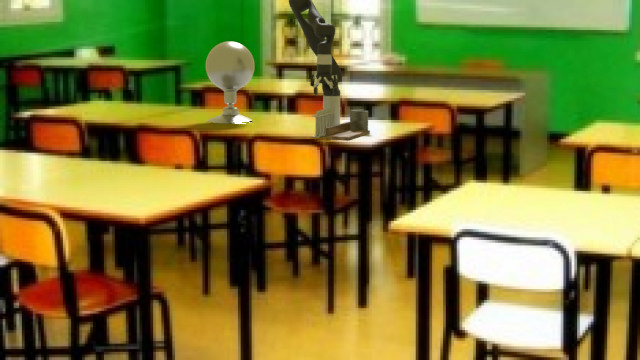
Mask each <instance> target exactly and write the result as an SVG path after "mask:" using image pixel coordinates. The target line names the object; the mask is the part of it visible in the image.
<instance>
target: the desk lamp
mask: <svg viewBox="0 0 640 360" xmlns="http://www.w3.org/2000/svg"><path fill="white" fill-rule="evenodd" d="M255 65H256V64H255V60H254V56H253V54H252V52H250V50H249V49H248V48H247V47H246V46H245V45H243V44H241V43H239V42H236V41H223V42H220V43H219V44H217V45H215V46H214V47H213V48H212V49H211V50H210V51H209V53H208V55H207V57H206V60H205V71H206V72H205V73H206V74H207V77H208V79H209V80H210V81H211V83H212V84H213V85H215V86H216V87H217V88H219V89H221V91H223V95H224V96H223V98H224V104H226V105H227V106H225V107H223V108H222V113H221V114H219V115H217V116H214V117H211V118H209V119H207V120H208V121H209V122H208V123H211V122H213V123H214V124H229V123H231V124H243V123H242V122H249V121H252V119H253V118H249V117H247V116H244V115H242V114H240V112H239V111H240V110H239V108H238V107H235V106H234V105H235V104H237V102H238V101H237V92H238V91H239V90H240V89H241V88H243V87H245V86H247V84H249V83H250V82H251V80H252V78H253V76H254V72H255ZM213 123H212V124H213ZM249 123H250V122H249Z"/></svg>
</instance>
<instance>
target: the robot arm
mask: <svg viewBox="0 0 640 360" xmlns="http://www.w3.org/2000/svg"><path fill="white" fill-rule="evenodd" d="M288 5H289V7H290V9H291V11H292V14H293V15H294V17H295V18H296V20H297V22H298V25H299V26H300V28H301V29H302V32H303V35H304V37H305V39H306V41H307V43H308V45H309V47H310V49H311V51H312V53H313V54H314V55H315V56H316V57H317V58H316V74H314V73H313V74H311V75H310V84H309V86H310V87H312V88H313V94H314V96H318V94H319V93H318V90H319V89H318V87H319V85H320V84H321V90H322V93H323V94H322V96H323V97H322V98H323V99H322V100H323V101H322V108H323V109H327V108H328V109H329V108H332V111H335V112H336V113H333V126H334V125H338V124H341V90H340V87H339V83H340V82H341V80H342V79H343V71H342V69H341V67H340V66H339V64H338V63H337V61H336V59H335V57H334V56H333V53H332V47H333V43H334V39H335V35H336V27H335V25H334V24H332V23H326V20H325V18H324V17H323V16H322V15H321V14H320V12H319V11H318V9H317V7H316V5H315V3H314V2H313V0H288ZM307 10H308V12H307V19H306V18H305V17H304V16H303V15H302V13H304V12H306V11H307ZM315 80H316V81H315ZM323 109H322V110H323Z"/></svg>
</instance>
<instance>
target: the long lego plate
mask: <svg viewBox="0 0 640 360" xmlns="http://www.w3.org/2000/svg"><path fill="white" fill-rule="evenodd" d="M333 113H336V112H335V111H332V108H329V109H328V108H327V109H319V110H316V114H314V115H311V117H312V118H315V135H314V134H313V135H311V136H310V138H312V137H315V139H320V138H323V137H326V128H327V127H331V126H333Z"/></svg>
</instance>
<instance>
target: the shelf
mask: <svg viewBox="0 0 640 360" xmlns="http://www.w3.org/2000/svg"><path fill="white" fill-rule="evenodd" d="M368 134H371V131H370V130H369V110H353V109H351V110H350V111H349V121H346V122H342V123H340V124H338V125H334V126H331V127H327V128H326V136H325V140H336V141H337V140H339V141H350V140H353V139H357V138H360V137H362V136H366V135H368Z"/></svg>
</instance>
